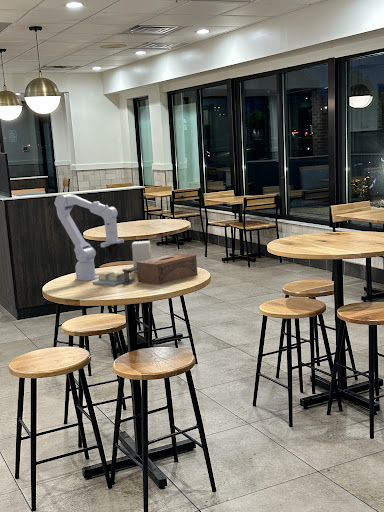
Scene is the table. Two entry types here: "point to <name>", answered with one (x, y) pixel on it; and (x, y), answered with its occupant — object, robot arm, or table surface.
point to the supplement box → (140, 251)
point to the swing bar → (130, 269)
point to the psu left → (105, 276)
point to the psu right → (116, 277)
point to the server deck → (110, 283)
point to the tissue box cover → (166, 268)
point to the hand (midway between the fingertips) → (114, 259)
